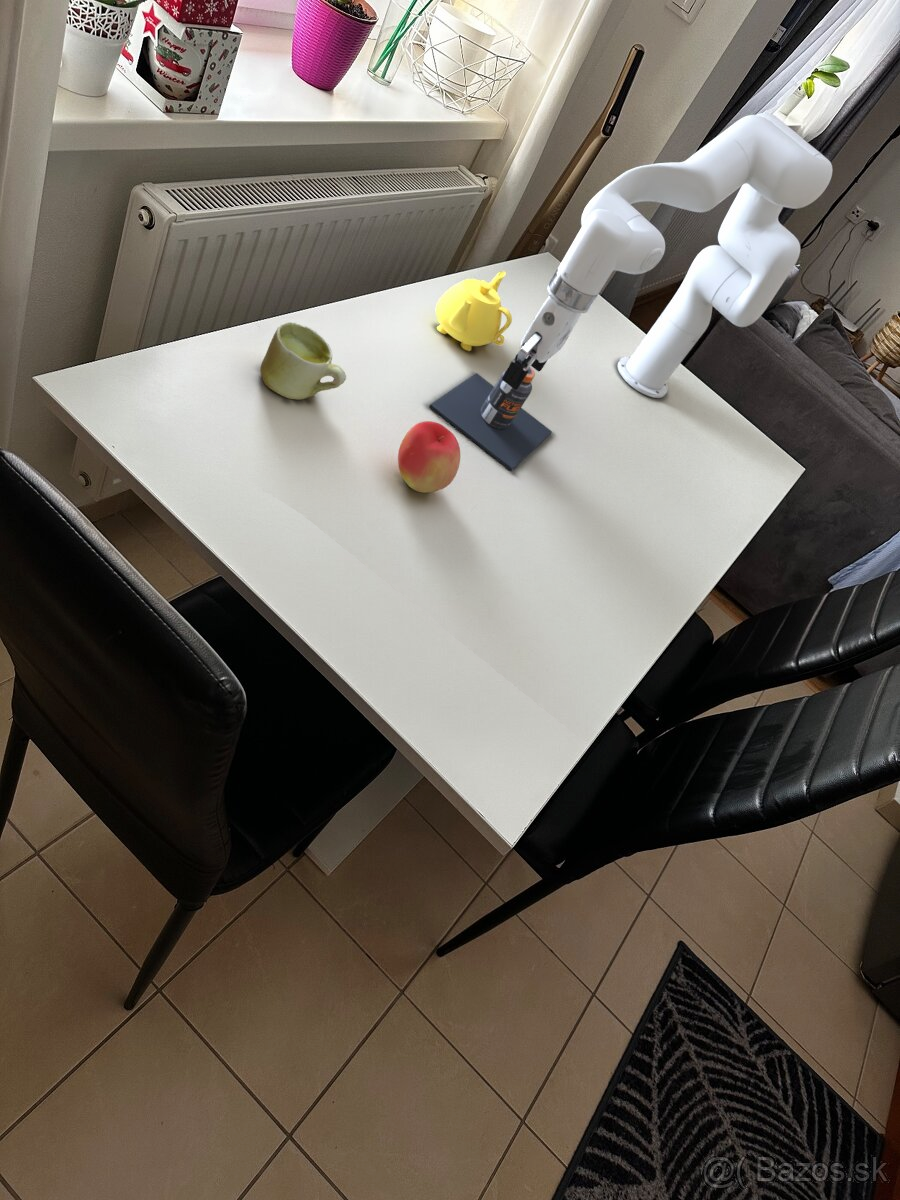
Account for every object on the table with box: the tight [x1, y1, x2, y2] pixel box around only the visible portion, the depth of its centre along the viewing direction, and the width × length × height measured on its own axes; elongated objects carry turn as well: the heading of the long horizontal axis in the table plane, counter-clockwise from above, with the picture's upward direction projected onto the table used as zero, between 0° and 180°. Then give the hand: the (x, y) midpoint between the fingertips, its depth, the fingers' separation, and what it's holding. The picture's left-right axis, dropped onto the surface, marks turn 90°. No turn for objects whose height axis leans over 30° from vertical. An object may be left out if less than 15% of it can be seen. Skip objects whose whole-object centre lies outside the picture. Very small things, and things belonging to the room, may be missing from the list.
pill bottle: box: [481, 366, 536, 429], centre depth 149 cm, size 6×6×11 cm
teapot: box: [435, 270, 513, 352], centre depth 164 cm, size 20×15×12 cm
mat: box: [428, 372, 553, 472], centre depth 153 cm, size 18×18×1 cm
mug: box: [260, 321, 347, 400], centre depth 131 cm, size 12×10×10 cm
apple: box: [397, 420, 461, 493], centre depth 129 cm, size 10×10×10 cm
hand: (521, 375), depth 146 cm, fingers open, 9 cm apart
